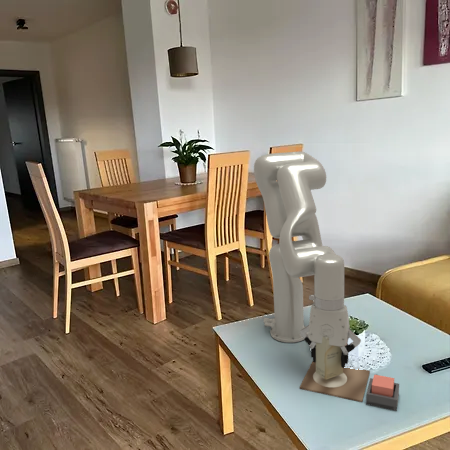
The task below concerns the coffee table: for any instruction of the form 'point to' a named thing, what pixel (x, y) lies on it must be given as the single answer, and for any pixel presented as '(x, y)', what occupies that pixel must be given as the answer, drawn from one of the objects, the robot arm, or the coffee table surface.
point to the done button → (383, 385)
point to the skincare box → (328, 359)
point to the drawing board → (337, 383)
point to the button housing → (382, 398)
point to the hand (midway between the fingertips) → (329, 362)
